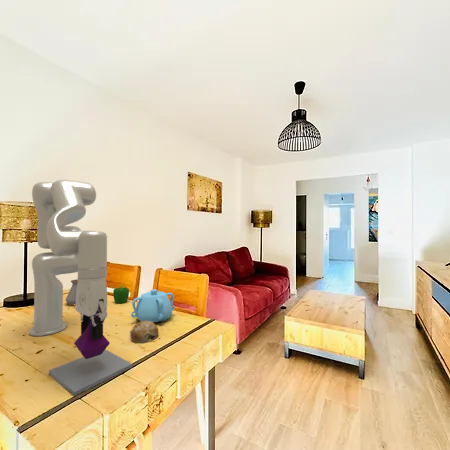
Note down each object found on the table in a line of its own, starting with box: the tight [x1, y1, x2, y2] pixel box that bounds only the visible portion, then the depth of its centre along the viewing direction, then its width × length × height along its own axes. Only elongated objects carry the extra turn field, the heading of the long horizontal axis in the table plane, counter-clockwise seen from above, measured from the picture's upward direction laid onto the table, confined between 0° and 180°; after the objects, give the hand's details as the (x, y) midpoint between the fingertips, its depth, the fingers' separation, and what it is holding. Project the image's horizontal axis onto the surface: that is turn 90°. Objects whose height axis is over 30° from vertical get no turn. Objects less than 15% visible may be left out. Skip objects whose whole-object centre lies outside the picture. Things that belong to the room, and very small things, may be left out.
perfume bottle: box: [73, 311, 110, 359], centre depth 72 cm, size 8×8×18 cm
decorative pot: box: [130, 288, 176, 323], centre depth 113 cm, size 16×16×14 cm
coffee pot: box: [65, 278, 78, 305], centre depth 134 cm, size 21×12×15 cm, turn 31°
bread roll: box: [129, 321, 159, 344], centre depth 94 cm, size 10×10×8 cm
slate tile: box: [48, 348, 133, 397], centre depth 72 cm, size 16×16×1 cm
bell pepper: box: [112, 283, 130, 304], centre depth 140 cm, size 8×8×10 cm
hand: (91, 335), depth 72 cm, fingers closed on perfume bottle, 5 cm apart
